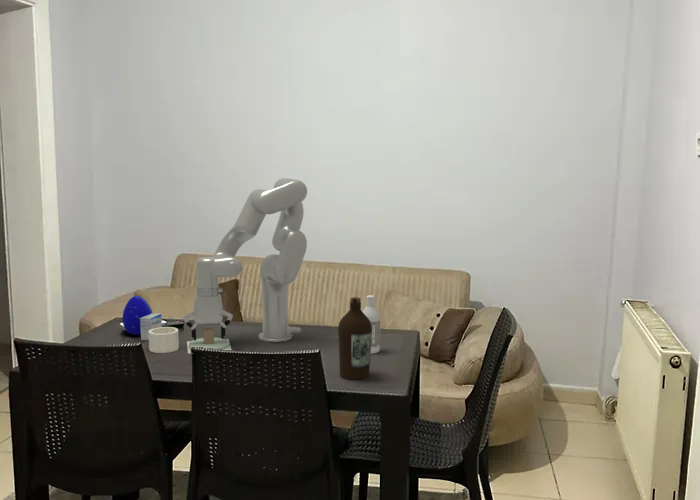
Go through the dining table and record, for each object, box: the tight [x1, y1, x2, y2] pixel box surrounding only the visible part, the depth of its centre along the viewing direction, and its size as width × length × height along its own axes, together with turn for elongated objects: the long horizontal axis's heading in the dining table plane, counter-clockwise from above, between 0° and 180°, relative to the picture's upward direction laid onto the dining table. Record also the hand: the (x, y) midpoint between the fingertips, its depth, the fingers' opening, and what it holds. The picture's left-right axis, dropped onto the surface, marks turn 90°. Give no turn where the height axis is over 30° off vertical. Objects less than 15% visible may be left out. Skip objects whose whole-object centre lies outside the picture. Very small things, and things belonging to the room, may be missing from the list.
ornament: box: [121, 295, 153, 336], centre depth 266 cm, size 11×9×15 cm
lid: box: [189, 327, 230, 349], centre depth 250 cm, size 14×14×6 cm
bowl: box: [148, 326, 180, 354], centre depth 246 cm, size 10×10×7 cm
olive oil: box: [337, 296, 372, 381], centre depth 220 cm, size 11×11×25 cm
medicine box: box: [140, 312, 163, 341], centre depth 261 cm, size 8×4×9 cm, turn 165°
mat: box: [186, 338, 233, 354], centre depth 251 cm, size 15×15×1 cm
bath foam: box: [362, 294, 381, 355], centre depth 247 cm, size 7×7×20 cm
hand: (208, 338), depth 250 cm, fingers open, 9 cm apart
